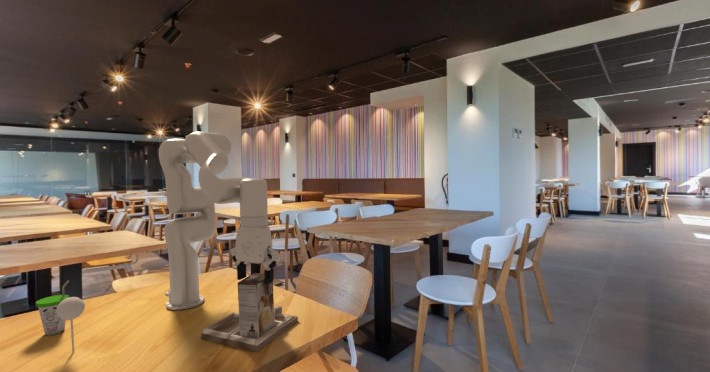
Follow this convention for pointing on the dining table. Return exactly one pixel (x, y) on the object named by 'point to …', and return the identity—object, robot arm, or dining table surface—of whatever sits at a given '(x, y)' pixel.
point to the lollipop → (70, 311)
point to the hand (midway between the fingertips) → (255, 280)
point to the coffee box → (255, 306)
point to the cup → (52, 312)
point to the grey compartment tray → (229, 335)
